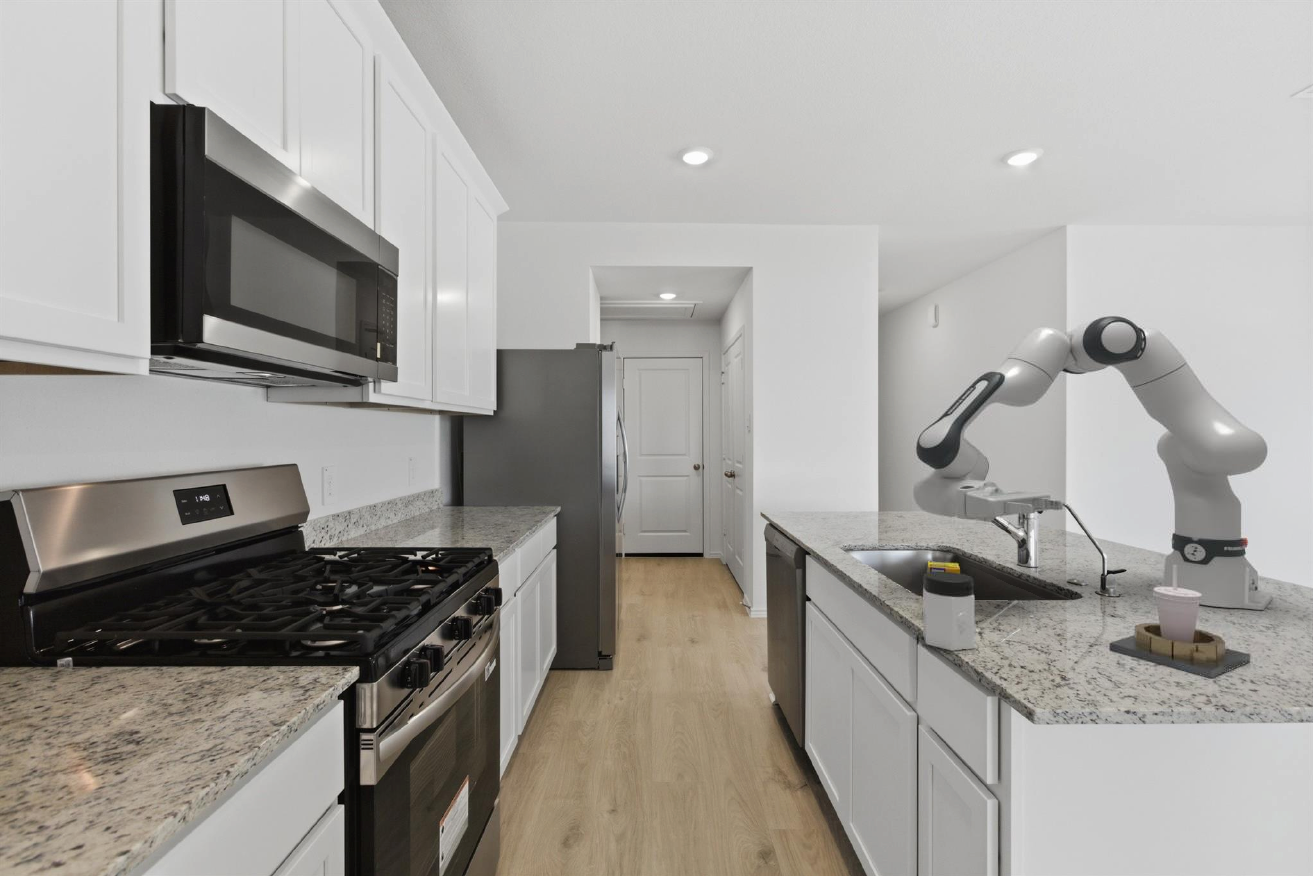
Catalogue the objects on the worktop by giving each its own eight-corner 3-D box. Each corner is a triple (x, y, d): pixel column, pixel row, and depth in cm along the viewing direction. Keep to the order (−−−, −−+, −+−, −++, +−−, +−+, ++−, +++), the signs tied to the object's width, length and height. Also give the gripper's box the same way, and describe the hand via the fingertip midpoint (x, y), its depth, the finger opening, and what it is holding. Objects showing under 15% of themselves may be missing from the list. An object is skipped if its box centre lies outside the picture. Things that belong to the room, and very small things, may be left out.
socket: (1150, 636, 114) (1150, 616, 114) (1250, 661, 102) (1250, 639, 102) (1109, 649, 107) (1109, 628, 107) (1211, 678, 95) (1211, 654, 95)
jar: (941, 653, 107) (941, 583, 106) (912, 637, 114) (912, 572, 114) (986, 648, 109) (986, 580, 108) (954, 633, 116) (954, 570, 116)
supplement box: (927, 620, 124) (927, 566, 124) (926, 612, 130) (926, 560, 130) (960, 623, 122) (960, 568, 122) (958, 615, 128) (958, 562, 128)
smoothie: (1183, 642, 107) (1183, 561, 107) (1212, 655, 101) (1213, 570, 101) (1143, 641, 108) (1143, 561, 108) (1170, 654, 102) (1170, 569, 101)
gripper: (1011, 511, 140) (1076, 519, 128) (952, 519, 130) (1016, 527, 118) (1011, 483, 140) (1076, 488, 128) (951, 489, 130) (1016, 494, 118)
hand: (1047, 507), depth 123 cm, fingers open, 8 cm apart
